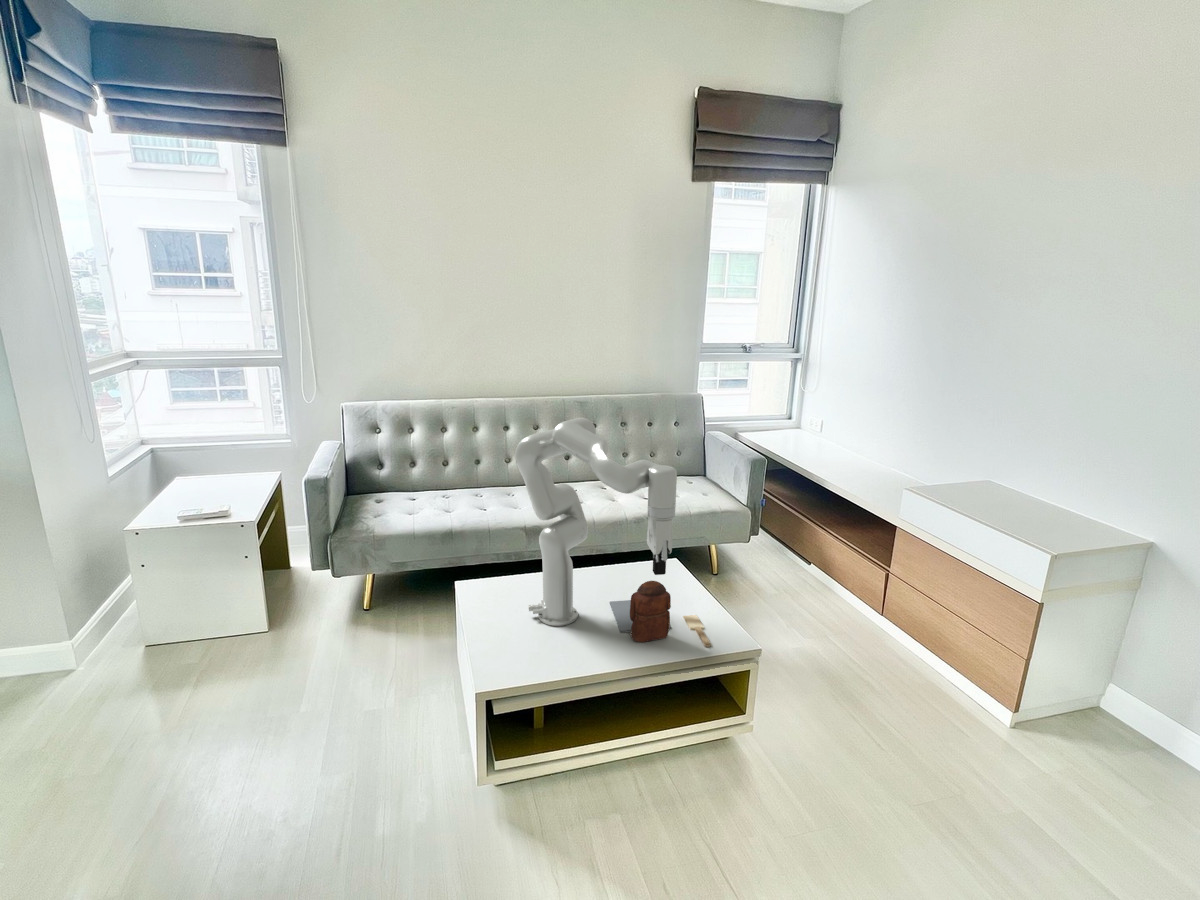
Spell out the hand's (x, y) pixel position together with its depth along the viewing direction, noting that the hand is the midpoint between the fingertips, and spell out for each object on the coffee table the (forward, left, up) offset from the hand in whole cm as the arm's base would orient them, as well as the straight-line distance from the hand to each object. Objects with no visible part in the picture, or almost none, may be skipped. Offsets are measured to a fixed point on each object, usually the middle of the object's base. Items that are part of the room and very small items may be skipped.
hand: (659, 572), depth 173 cm
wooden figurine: (0, +9, -25) cm, 27 cm away
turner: (+16, +11, -25) cm, 32 cm away
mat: (0, +22, -25) cm, 33 cm away
